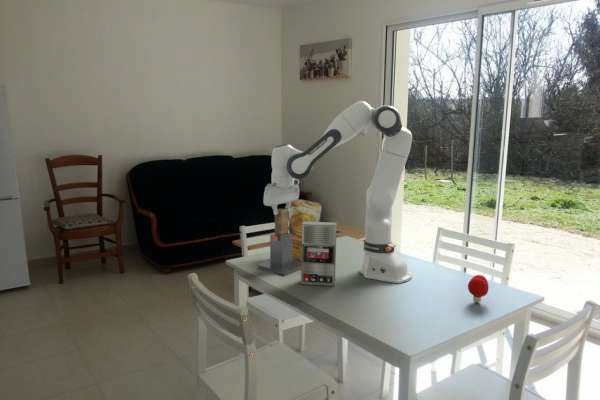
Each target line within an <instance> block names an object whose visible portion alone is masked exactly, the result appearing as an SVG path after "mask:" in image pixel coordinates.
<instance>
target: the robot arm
mask: <svg viewBox="0 0 600 400" xmlns="http://www.w3.org/2000/svg"><path fill="white" fill-rule="evenodd" d="M367 127H371V128H372V127H373V128H374V129H375V130H377V131H378V132H379V133H382V134H383V135H384V144H383V146H382V150H381V152H380V155H379V158H378V160H377V164H376V167H375V170H374V174H373V178H372V181H371V183H370V185H369V187H368V188H367V190H366V195H365V196H366V201H365V204H366V205H365V232H364V234H365V236H364V240H363V258H362V264H361V266H360V270H359V272H360V273H361V274H362V275H363V277H364V279H372V280H376V281H381V282H389V283H394V284H402V283H406V282H408V281H410V280H411V279H412V278H413V273H412V272H410V271H408V264H407V262H406V260H405V259H404V258H402V257H401V256H400V255H399V254H398V253H397V252H396V251H395V248H396V247H397V244H396V243H395V244H393V242H392V226H393V225H392V222H393V221H392V218H393V217H392V211H393V210H392V207H393V205H394V202H395V199H396V197H397V193H398V189H399V186H400V181H401V178H402V175H403V171H404V169H405V166H406V163H407V161H408V157H409V156H410V152H411V148H412V141H413V134H412V132H411V131H410V130H409V129H408V128H406V127H404V126H403V125H402V119H401V115H400V112H399V110H398V109H397V108H396V107H394V106H392V105H387V104H384V105H380V106H378V107H372V106H371V105H370V104H369V103H367V102H366V101H363V100H358V101H357V102H355V103H353V104H352V105H350V106H348V107H347V108H345V109H344V110H343V111H342V112H341V113H339V115H337V116H336V117H335V119H333V120H332V122H331V123H330V124H329V125H328V127H327V128H326V129H325V132H324V133H323V134H322V135H321V137H319V139H317V140H316V141H315V142H314V143H313V144H312V145H310V146H309V147H308V148H307V149H306V150H304V151H303V150H299V149H297V148H295V147H293V146H292V145H291V144H289V143H285V144H280V145H275V146H274V147H273V149H272V152H271V169H272V170H271V171H272V172H271V183H267V185H266V186H265V187H264V192H263V202H262V203H263V205H264V206H267V207H271V208H272V211H273V215H274V216H275V215H277V214H279V210H277V209H278V206H279V205H281V204H286V205H285V207H284V208H283V209H287V210H288V213H289V208H290V206H291V201H296V200H298V199H299V197H300V187H299V184H300V180H303V179H304V178H306V177H308V176H309V174H310V173H311V171H312V170H313V168H314V165H315V164H316V163H317V162H318V161H319V160H320V159H321V158H323V157H324V156H325V155H326V154H328V153H329V152H330V151H331V150H332V149H335V148H336V147H338V146H341V145H343V144H345V143H347V142H349V141H350V140H352V139H354V137H355V136H357V135H358V134H359V133H360V132H361V131H363V130H365V129H366V128H367Z"/></svg>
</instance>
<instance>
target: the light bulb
mask: <svg viewBox="0 0 600 400" xmlns="http://www.w3.org/2000/svg"><path fill="white" fill-rule="evenodd" d="M467 289H468V292H469V293H470V294H471V295H472V297H473V299H472V301H473V302H474V303H475V302H476V303H475V304H479V303H480V302H482V297H485V296H486V295H487V294H488V293H489V282H488V280H487V278H486V277H485V276H484V275H481V274H477V275H474V276H472V278H471V279H470V280H469V282H468V283H467Z"/></svg>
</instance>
